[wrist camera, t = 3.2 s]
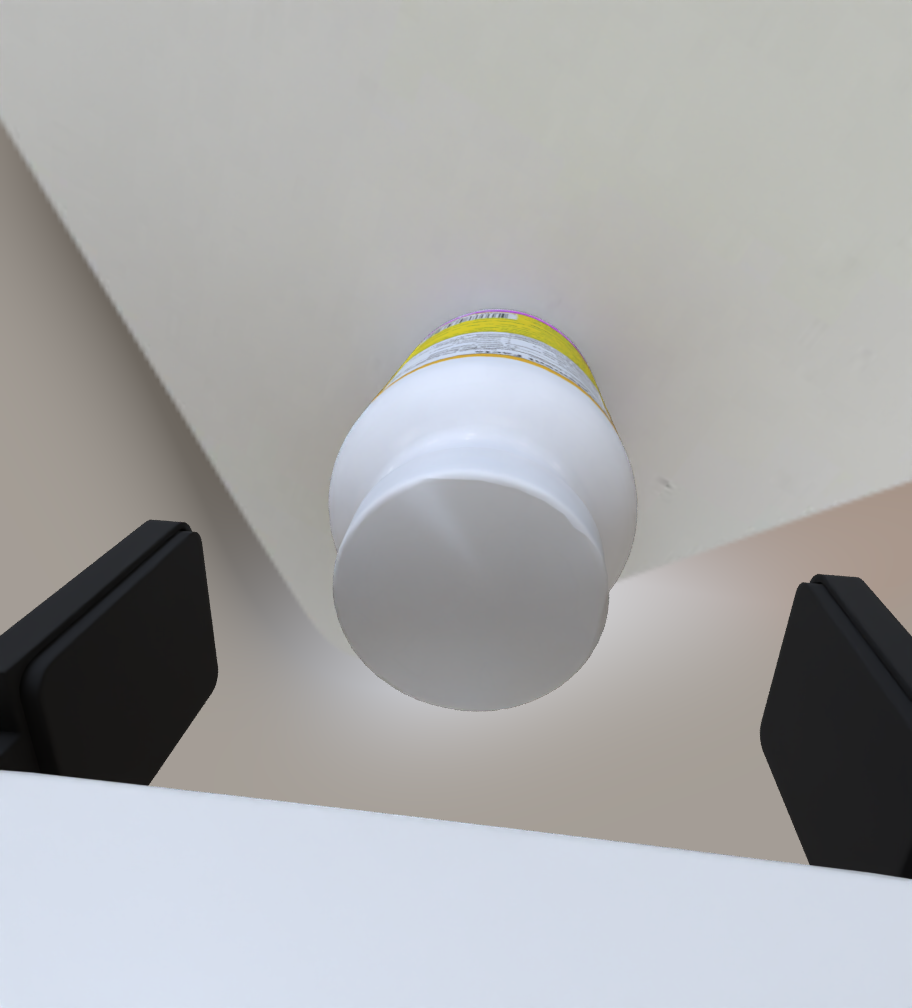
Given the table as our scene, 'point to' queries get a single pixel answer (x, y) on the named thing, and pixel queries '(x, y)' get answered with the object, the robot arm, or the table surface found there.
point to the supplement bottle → (481, 516)
